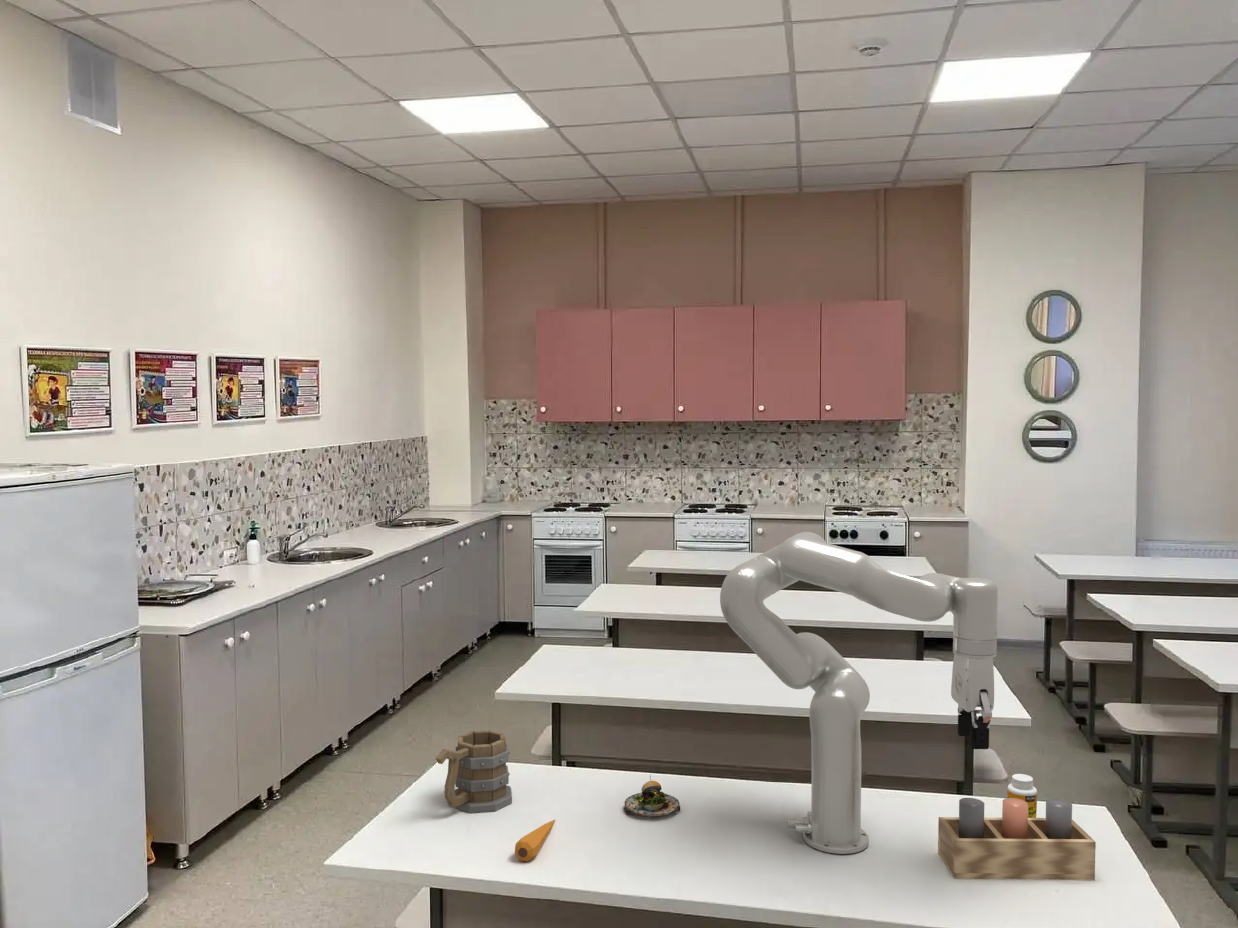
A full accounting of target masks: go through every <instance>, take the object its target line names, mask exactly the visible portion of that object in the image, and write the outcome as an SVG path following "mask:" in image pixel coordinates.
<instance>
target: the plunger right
mask: <svg viewBox="0 0 1238 928" xmlns="http://www.w3.org/2000/svg"><path fill="white" fill-rule="evenodd" d="M1045 818H1046V823H1045V836H1046V837H1047V838H1048V839H1071V832H1072V820H1073V803H1072V802H1070V801H1068V800H1066V799H1063V798H1055V797H1054V798H1048V799H1046V800H1045Z"/></svg>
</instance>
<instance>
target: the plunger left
mask: <svg viewBox="0 0 1238 928" xmlns="http://www.w3.org/2000/svg"><path fill="white" fill-rule="evenodd" d="M958 817H959V838H977V839H984V818H985V803H984V801H982V800H981V799H978V798H973V797H962V798H960V799H959V800H958Z"/></svg>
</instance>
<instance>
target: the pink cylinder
mask: <svg viewBox="0 0 1238 928" xmlns="http://www.w3.org/2000/svg"><path fill="white" fill-rule="evenodd" d="M1001 807H1002V808H1001V809H1002V816H1001V818H1002V837H1003V838H1004V839H1028V803H1027V802H1025V801H1023V800H1021V799H1016V798H1004V799H1002V806H1001Z"/></svg>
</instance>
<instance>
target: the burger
mask: <svg viewBox="0 0 1238 928" xmlns="http://www.w3.org/2000/svg"><path fill="white" fill-rule="evenodd" d="M651 776H652V775H649V781H646V782H645V783H644V784H643V785H642V787H641V792H639V793H636V794H631V795H630V796H628V797H627V798H626V799H625V800H624V808H623V810H624V814H625V815H627V816H628V815H629V812H630V813H633V814H634V815H635V814H636V815H638V816H642V817H643V816H644V817H662V816H665V815H669V814H670V813H673V812H675V811H678V812H681V805H680V802H679V799H678V798H676V797H675V796H674V795H673V796H672V795H670V794H668V793H665V792H663V791H662V785H661V783H659V781H656V780H652V779H651Z"/></svg>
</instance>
